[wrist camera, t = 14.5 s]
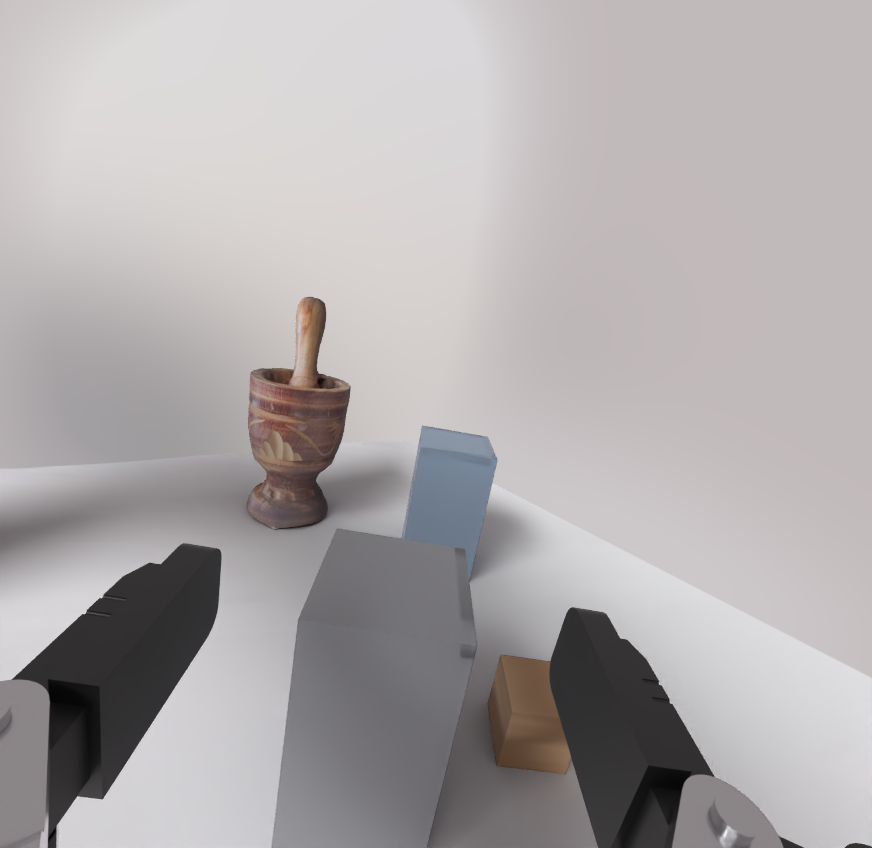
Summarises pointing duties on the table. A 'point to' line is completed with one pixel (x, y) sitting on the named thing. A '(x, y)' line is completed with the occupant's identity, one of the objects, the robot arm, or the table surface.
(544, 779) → the table surface
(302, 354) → the mortar and pestle
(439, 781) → the cover
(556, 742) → the brown cube
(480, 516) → the light blue box
